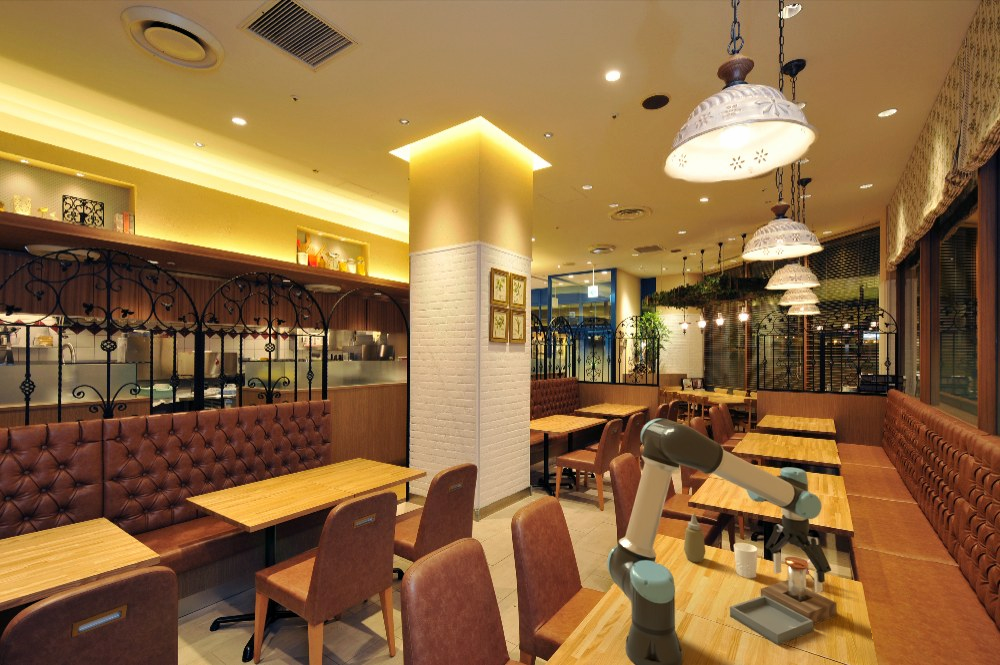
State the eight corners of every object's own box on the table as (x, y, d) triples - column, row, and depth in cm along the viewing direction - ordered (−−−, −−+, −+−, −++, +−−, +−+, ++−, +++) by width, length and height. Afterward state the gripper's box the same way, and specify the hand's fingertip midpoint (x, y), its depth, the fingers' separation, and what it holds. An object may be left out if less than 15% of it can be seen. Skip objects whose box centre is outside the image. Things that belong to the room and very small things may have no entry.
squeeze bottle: (687, 553, 195) (686, 509, 195) (708, 558, 190) (707, 513, 190) (681, 560, 189) (680, 515, 189) (702, 566, 184) (701, 519, 184)
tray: (777, 645, 135) (777, 634, 135) (730, 616, 150) (729, 606, 150) (813, 630, 142) (813, 620, 142) (764, 604, 156) (764, 595, 156)
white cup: (736, 577, 174) (735, 550, 175) (732, 567, 182) (732, 541, 182) (760, 580, 172) (759, 552, 172) (755, 570, 180) (754, 544, 180)
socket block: (808, 626, 144) (808, 613, 144) (760, 600, 158) (760, 588, 158) (836, 615, 150) (836, 602, 150) (788, 591, 164) (787, 579, 164)
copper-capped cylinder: (801, 615, 150) (799, 567, 150) (781, 605, 156) (780, 558, 156) (813, 610, 152) (812, 563, 153) (794, 600, 158) (793, 555, 159)
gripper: (842, 527, 145) (845, 597, 144) (767, 503, 168) (769, 563, 167) (827, 531, 142) (830, 603, 141) (753, 506, 165) (755, 567, 164)
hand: (797, 581), depth 154 cm, fingers open, 13 cm apart
